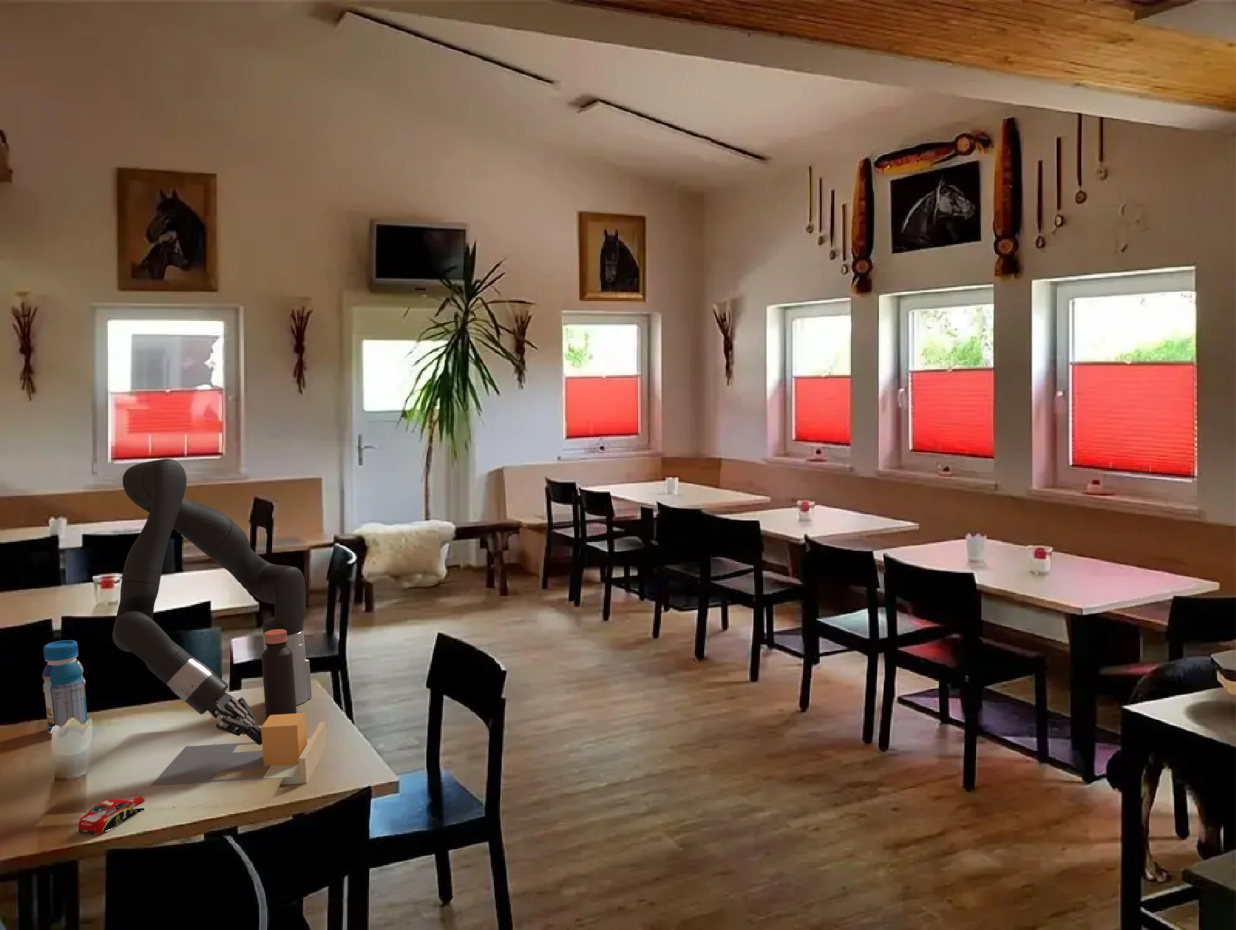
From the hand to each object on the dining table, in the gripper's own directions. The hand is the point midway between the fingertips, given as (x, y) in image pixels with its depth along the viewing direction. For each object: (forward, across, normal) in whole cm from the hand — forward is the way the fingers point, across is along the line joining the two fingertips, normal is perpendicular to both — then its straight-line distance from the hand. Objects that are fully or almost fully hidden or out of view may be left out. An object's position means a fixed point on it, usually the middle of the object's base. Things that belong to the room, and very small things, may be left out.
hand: (264, 740), depth 206 cm
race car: (-11, -21, +19) cm, 31 cm away
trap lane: (0, 0, +7) cm, 7 cm away
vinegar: (+1, +30, +7) cm, 31 cm away
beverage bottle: (-32, +30, +40) cm, 60 cm away
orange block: (+6, 0, 0) cm, 6 cm away
